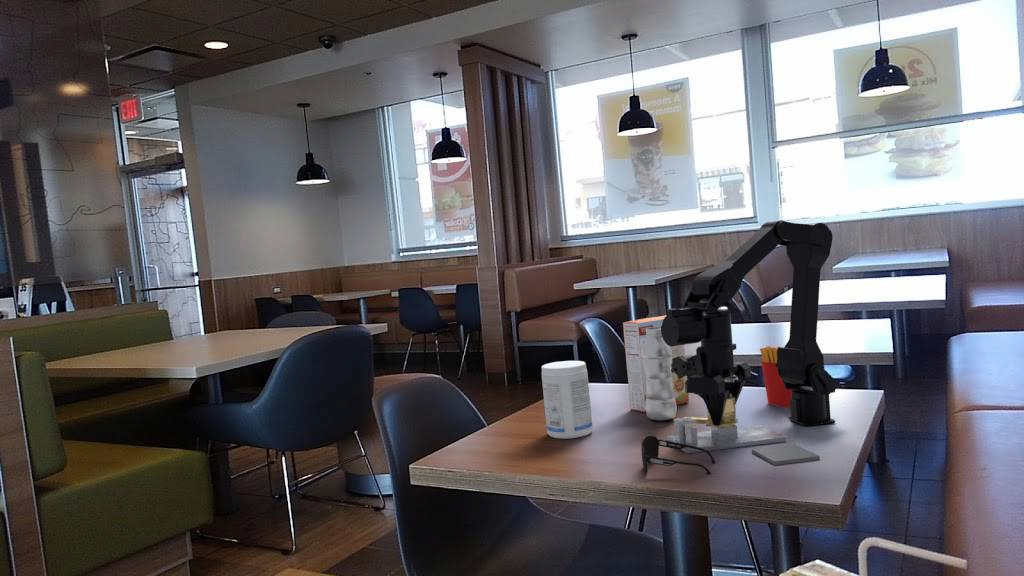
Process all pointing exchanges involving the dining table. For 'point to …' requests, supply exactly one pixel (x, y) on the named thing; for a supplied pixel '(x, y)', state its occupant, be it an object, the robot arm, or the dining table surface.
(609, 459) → the dining table surface
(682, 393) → the cracker box
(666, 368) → the plastic bottle
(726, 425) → the gold rounded piece
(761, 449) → the mat
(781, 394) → the french fries
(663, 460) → the sunglasses
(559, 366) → the supplement tub
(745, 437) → the lock base
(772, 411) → the dining table surface
